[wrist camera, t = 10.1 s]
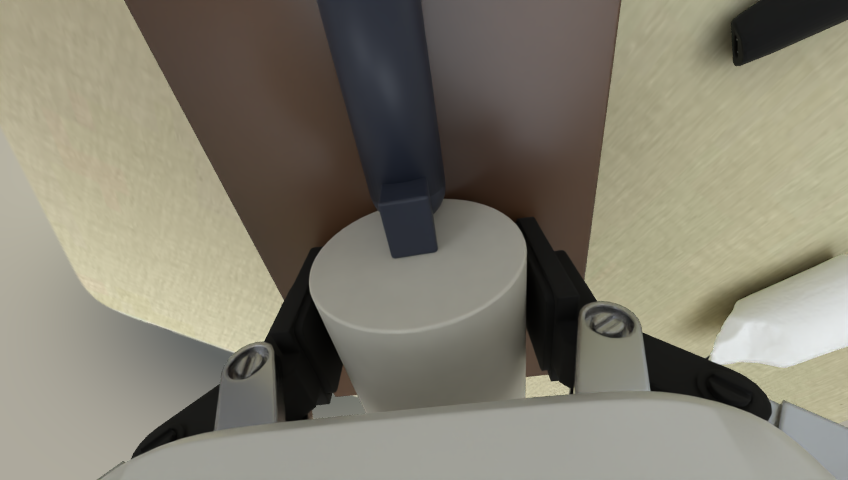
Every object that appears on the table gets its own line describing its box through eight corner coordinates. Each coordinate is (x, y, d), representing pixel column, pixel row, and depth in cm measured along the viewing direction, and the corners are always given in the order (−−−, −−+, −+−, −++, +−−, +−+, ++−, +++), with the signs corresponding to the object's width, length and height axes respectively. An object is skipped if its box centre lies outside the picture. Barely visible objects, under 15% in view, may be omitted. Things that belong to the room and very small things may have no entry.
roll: (670, 311, 29) (718, 365, 25) (832, 240, 25) (926, 289, 21) (689, 346, 32) (735, 401, 27) (838, 286, 28) (922, 339, 23)
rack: (364, 266, 26) (335, 397, 17) (272, -15, 17) (90, -60, 7) (517, 245, 25) (572, 372, 16) (514, -66, 16) (648, -189, 7)
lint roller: (504, 359, 16) (546, 501, 11) (388, 375, 16) (381, 520, 11) (483, -120, 7) (634, -400, 2) (231, -66, 7) (-78, -223, 3)
